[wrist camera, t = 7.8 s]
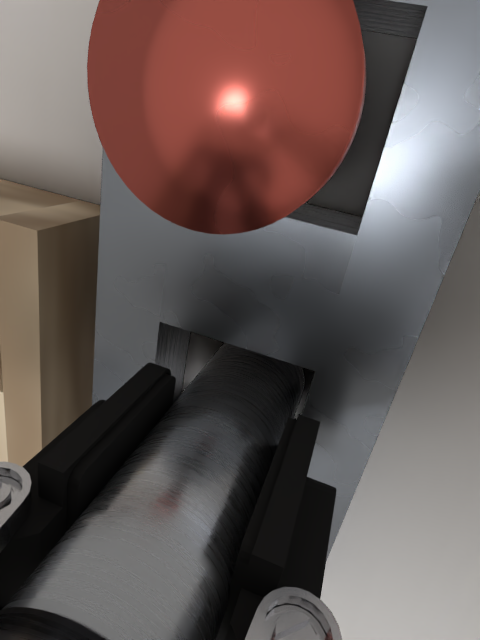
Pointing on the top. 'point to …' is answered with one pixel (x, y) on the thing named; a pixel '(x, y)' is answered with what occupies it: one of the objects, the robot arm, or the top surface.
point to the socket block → (314, 258)
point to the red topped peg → (226, 103)
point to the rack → (45, 315)
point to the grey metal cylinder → (167, 516)
